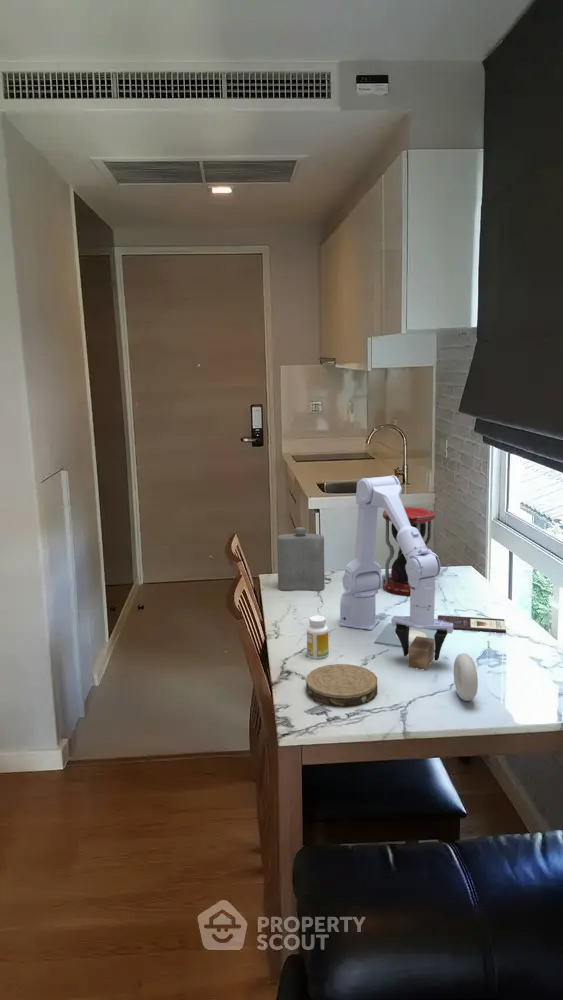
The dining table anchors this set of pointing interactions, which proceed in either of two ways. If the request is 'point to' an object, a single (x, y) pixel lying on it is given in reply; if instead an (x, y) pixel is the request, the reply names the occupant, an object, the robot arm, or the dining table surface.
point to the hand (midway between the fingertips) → (421, 656)
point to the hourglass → (398, 572)
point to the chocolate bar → (475, 623)
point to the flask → (300, 561)
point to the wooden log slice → (341, 685)
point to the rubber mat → (391, 638)
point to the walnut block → (421, 653)
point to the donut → (465, 677)
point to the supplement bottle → (317, 638)
